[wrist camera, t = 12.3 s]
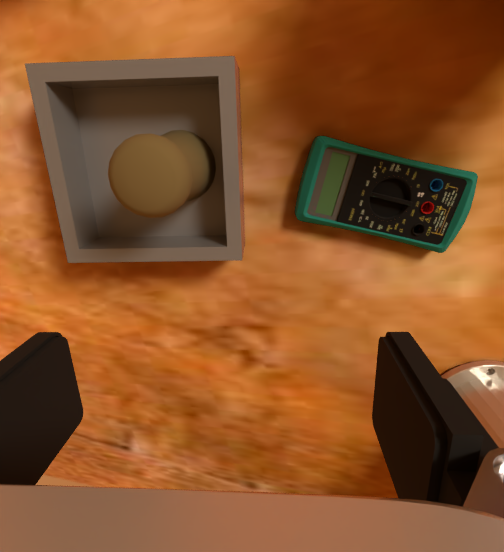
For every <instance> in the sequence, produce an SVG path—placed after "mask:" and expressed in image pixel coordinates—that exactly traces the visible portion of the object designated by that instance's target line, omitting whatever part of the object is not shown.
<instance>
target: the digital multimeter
mask: <svg viewBox="0 0 504 552" xmlns="http://www.w3.org/2000/svg"><path fill="white" fill-rule="evenodd" d="M453 176H454V177H453ZM457 177H458V178H457ZM477 178H478V176H477V174H476V173H474V172H470V171H464V170H459V169H454V168H448V167H443V166H438V165H434V164H429V163H424V162H419V161H415V160H410V159H405V158H402V157H398V156H394V155H390V154H386V153H382V152H378V151H374V150H370V149H367V148H363V147H360V146H357V145H353V144H350V143H347V142H343V141H340V140H336V139H333V138H330V137H326V136H317V137H316V138H315V139H314V141H313V144H312V146H311V149H310V152H309V155H308V158H307V161H306V164H305V167H304V170H303V174H302V178H301V182H300V186H299V191H298V196H297V201H296V207H295V215H296V217H297V219H298V220H300V221H304V222H309V223H315V224H320V225H326V226H331V227H337V228H342V229H347V230H352V231H356V232H361V233H366V234H370V235H375V236H379V237H383V238H387V239H391V240H395V241H399V242H402V243H406V244H410V245H414V246H417V247H421V248H424V249H428V250H431V251H435V252H438V253H442V252H444V251H446V249H447V248H448V246H449V245H450V244H451V242H452V241H453V240H454V238H455V237H456V235H457V234H458V232H459V231H460V229H461V227H462V226H463V224H464V222H465V220H466V218H467V215H468V213H469V211H470V208H471V204H472V201H473V197H474V193H475V188H476V183H477ZM456 208H457V209H456ZM372 214H373V215H372ZM453 215H454V216H453ZM452 217H453V218H452ZM395 219H396V220H395ZM409 238H410V239H409ZM422 241H423V242H422Z"/></svg>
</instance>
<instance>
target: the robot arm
mask: <svg viewBox="0 0 504 552" xmlns="http://www.w3.org/2000/svg"><path fill="white" fill-rule="evenodd" d="M82 417H83V407H82V403H81V398H80V394H79V389H78V385H77V381H76V376H75V372H74V367H73V363H72V358H71V354H70V350H69V345H68V341H67V339H66V338H65V337H62V335H61V334H60V333H58V332H39V333H37V334H35V335H34V336H32V337H31V338H30V339H28V340H27V341H26V342H24V343H23V344H22V345H20V346H19V347H18V348H17V349H15V350H14V351H13V352H11V353H10V354H9V355H7V356H6V357H5V358H3V359H2V360H1V361H0V552H504V362H499V361H486V360H484V361H476V362H471V363H467V364H463V365H460V366H458V367H456V368H454V369H451V370H450V371H448V372H446V373H445V374H443V375H442V376H440V374H439V373H438V371H437V370H436V369H435V367H434V366H433V365H432V363H431V362H430V360H429V359H428V358H427V356H426V355H425V354H424V352H423V351H422V349H421V348H420V347H419V345H418V344H417V343H416V341H415V340H414V338H413V337H412V336H411V334H410V333H409V332H387V333H386V336H385V337H380V339H379V344H378V356H377V367H376V378H375V390H374V401H373V412H372V419H373V426H374V429H375V432H376V435H377V438H378V441H379V444H380V446H381V449H382V452H383V455H384V458H385V461H386V463H387V466H388V469H389V472H390V475H391V478H392V481H393V483H394V486H395V489H396V492H397V495H398V498H399V499H397V498H383V497H369V496H349V495H322V494H295V493H268V492H240V491H209V490H178V489H146V488H114V487H80V486H47V485H35V484H36V483H37V482H38V480H39V479H40V477H41V476H42V475H43V473H44V472H45V471H46V469H47V468H48V467H49V465H50V464H51V462H52V461H53V460H54V458H55V457H56V455H57V454H58V453H59V451H60V450H61V449H62V447H63V446H64V444H65V443H66V442H67V440H68V439H69V437H70V436H71V435H72V433H73V432H74V431H75V429H76V428H77V426H78V425H79V424H80V422H81V420H82Z"/></svg>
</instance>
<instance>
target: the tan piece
mask: <svg viewBox="0 0 504 552" xmlns="http://www.w3.org/2000/svg"><path fill="white" fill-rule="evenodd" d="M215 172H216V165H215V158H214V155H213V153H212V151H211V148H210V147H209V146H208V144H207V143H206V142H205V141H204V140H203V139H202V138H201V137H199V136H198V135H196V134H195V133H193V132H189V131H185V130H172V131H169V132H167V133H165V134H163V135H161V136H159V135H155V134H150V133H149V134H136V135H134V136H132V137H130V138H128V139H125V140H124V141H123V142H122V143H121V144H120V145H119V146H118V147H117V148H116V149H115V150H114V152H113V155H112V157H111V159H110V161H109V168H108V178H109V183H110V187H111V189H112V191H113V193H114V195H115V197H116V199H117V200H118V201H119V202H120V203H121V204H122V205H123V206H124V207H125V208H126V209H128V210H129V211H131V212H133V213H134V214H136V215H140V216H144V217H148V218H156V217H164V216H167V215H169V214H171V213H174V212H175V211H176V210H177V209H178V208H179V207H181V206H182V205H183V204H184V203H185V201H191V200H194V199H196V198H198V197H201V196H202V195H203V194H204V193H205V192H207V191H208V190H209V188H210V186H211V185H212V183H213V181H214V177H215Z"/></svg>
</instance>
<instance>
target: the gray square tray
mask: <svg viewBox="0 0 504 552" xmlns="http://www.w3.org/2000/svg"><path fill="white" fill-rule="evenodd" d="M25 67H26V71H27V76H28V81H29V85H30V90H31V94H32V99H33V104H34V108H35V113H36V117H37V122H38V127H39V131H40V136H41V141H42V145H43V150H44V154H45V159H46V164H47V168H48V173H49V177H50V182H51V187H52V191H53V196H54V201H55V205H56V210H57V214H58V219H59V224H60V228H61V233H62V237H63V242H64V247H65V251H66V256H67V260H68V263H94V262H160V261H226V260H242V258H243V253H244V247H245V229H244V200H243V170H242V141H241V112H240V82H239V67H238V65H237V62H236V59H235V56H220V57H193V58H166V59H139V60H111V61H84V62H57V63H30V64H25ZM172 130H185V131H189V132H193V133H195V134H196V135H198V136H199V137H201V138H202V139H203V140H204V141H205V142H206V143H207V144H208V146H209V147H210V148H211V151H212V153H213V155H214V158H215V165H216V172H215V177H214V181H213V183H212V185H211V186H210V188H209V190H208V191H207V192H205V193H204V194H203V195H202V196H201V197H198V198H196V199H194V200H191V201H185V203H184V204H183V205H182V206H181V207H179V208H178V209H177V210H176V211H175V212H174V213H171V214H169V215H167V216H164V217H156V218H148V217H144V216H140V215H136V214H134V213H133V212H131V211H129V210H128V209H126V208H125V207H124V206H123V205H122V204H121V203H120V202H119V201H118V200H117V199H116V197H115V195H114V193H113V191H112V189H111V187H110V183H109V178H108V168H109V161H110V159H111V157H112V155H113V152H114V150H115V149H116V148H117V147H118V146H119V145H120V144H121V143H122V142H123V141H124V140H125V139H128V138H130V137H132V136H134V135H136V134H149V133H150V134H155V135H159V136H161V135H163V134H165V133H167V132H169V131H172Z"/></svg>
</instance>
